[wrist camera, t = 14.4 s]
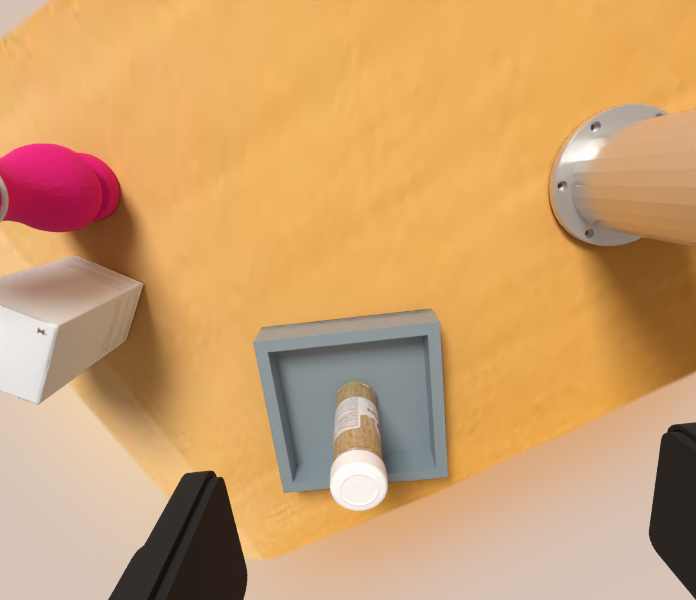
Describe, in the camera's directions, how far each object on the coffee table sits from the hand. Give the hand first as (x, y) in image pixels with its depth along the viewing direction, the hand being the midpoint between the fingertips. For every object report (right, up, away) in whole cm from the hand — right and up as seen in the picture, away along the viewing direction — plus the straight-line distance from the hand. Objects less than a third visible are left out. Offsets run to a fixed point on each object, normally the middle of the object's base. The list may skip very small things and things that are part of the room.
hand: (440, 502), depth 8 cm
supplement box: (-28, +5, +33) cm, 43 cm away
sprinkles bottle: (-1, -6, +35) cm, 35 cm away
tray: (-1, -6, +36) cm, 36 cm away
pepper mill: (-27, +15, +29) cm, 43 cm away
